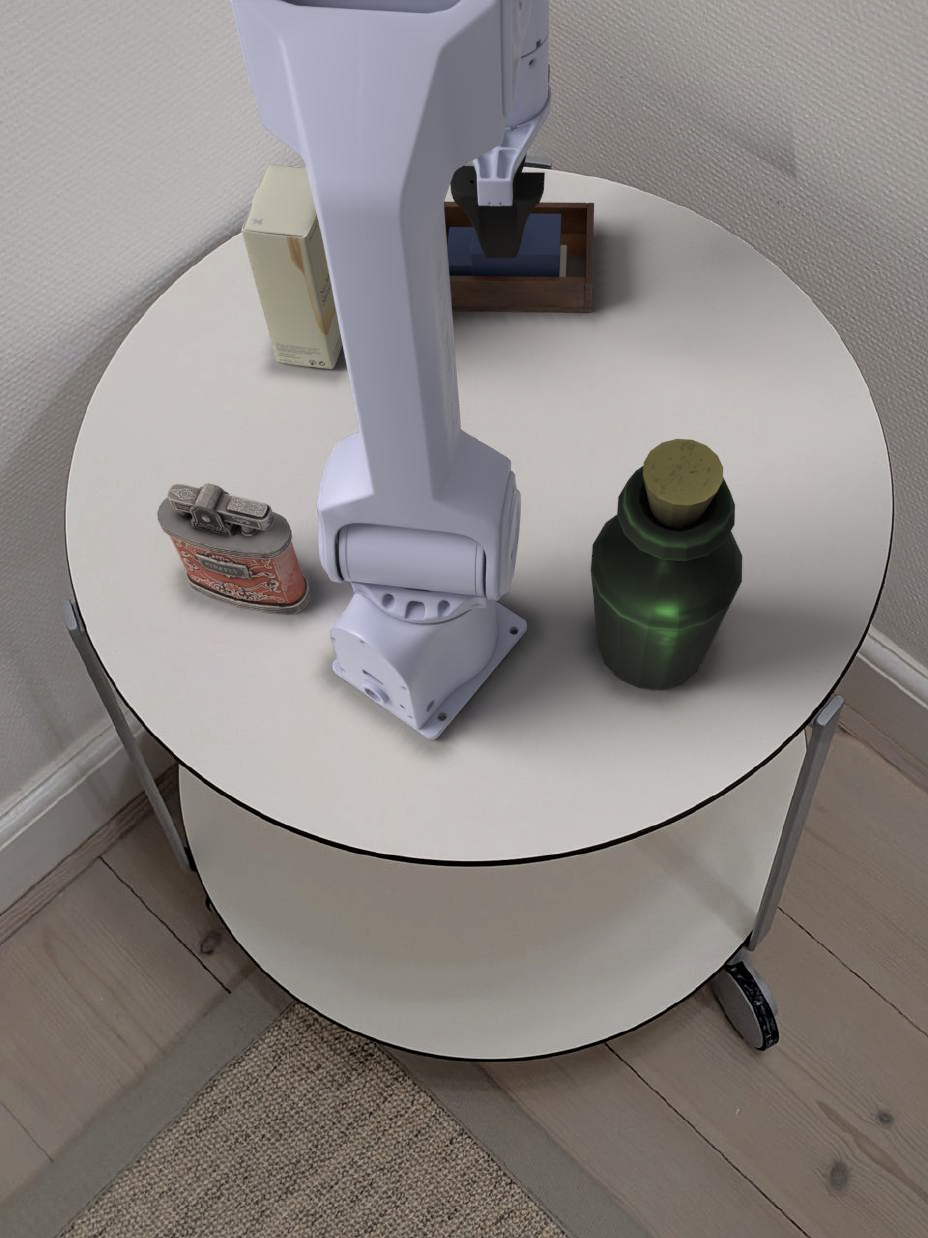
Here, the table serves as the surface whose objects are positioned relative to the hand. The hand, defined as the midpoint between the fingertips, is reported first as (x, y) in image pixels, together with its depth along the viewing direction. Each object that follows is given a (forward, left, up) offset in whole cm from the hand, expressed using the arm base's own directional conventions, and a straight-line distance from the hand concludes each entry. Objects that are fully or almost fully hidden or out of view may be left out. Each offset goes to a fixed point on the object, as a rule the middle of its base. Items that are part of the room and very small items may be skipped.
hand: (503, 211), depth 82 cm
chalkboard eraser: (0, 0, -6) cm, 6 cm away
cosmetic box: (-11, +8, -7) cm, 16 cm away
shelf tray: (+1, +1, -7) cm, 7 cm away
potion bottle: (-18, -24, -7) cm, 31 cm away
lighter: (-29, -2, -7) cm, 30 cm away
